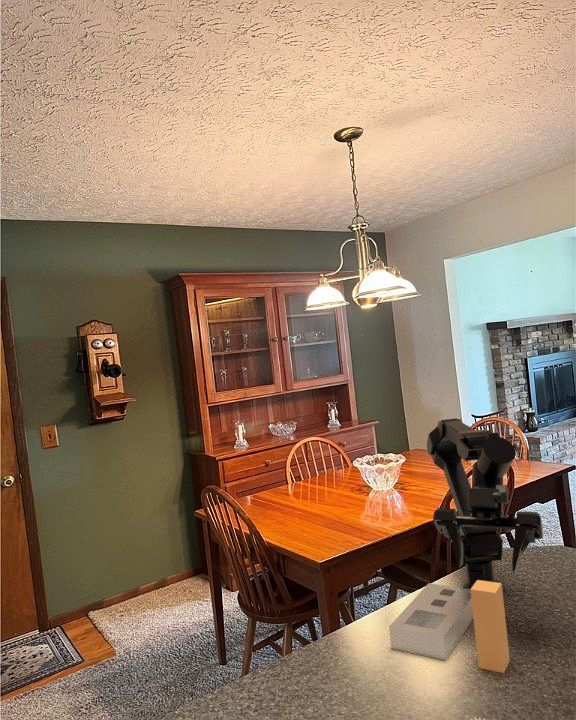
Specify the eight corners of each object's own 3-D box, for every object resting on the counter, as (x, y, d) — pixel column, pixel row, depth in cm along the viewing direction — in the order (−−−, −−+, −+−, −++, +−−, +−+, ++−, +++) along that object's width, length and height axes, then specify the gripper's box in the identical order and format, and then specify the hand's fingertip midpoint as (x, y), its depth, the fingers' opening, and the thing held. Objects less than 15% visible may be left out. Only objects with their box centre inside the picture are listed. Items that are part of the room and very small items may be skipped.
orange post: (485, 655, 97) (477, 579, 97) (509, 660, 94) (501, 583, 94) (478, 667, 93) (470, 589, 93) (503, 673, 91) (495, 592, 91)
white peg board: (430, 602, 119) (428, 582, 119) (478, 610, 113) (476, 589, 113) (391, 648, 102) (388, 626, 102) (445, 660, 96) (443, 636, 96)
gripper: (430, 467, 109) (423, 546, 99) (536, 468, 101) (540, 554, 91) (441, 494, 116) (436, 570, 107) (541, 497, 108) (544, 579, 99)
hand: (486, 568), depth 101 cm, fingers open, 9 cm apart
